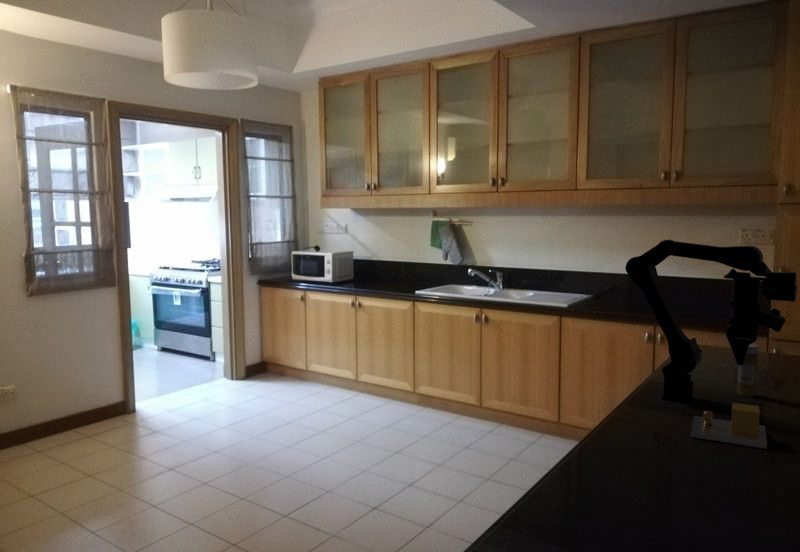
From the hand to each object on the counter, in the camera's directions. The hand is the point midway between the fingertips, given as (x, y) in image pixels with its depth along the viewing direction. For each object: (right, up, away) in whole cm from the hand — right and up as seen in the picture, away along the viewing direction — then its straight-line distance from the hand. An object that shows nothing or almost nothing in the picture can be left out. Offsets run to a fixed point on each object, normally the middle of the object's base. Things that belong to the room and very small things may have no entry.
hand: (741, 361), depth 149 cm
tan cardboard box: (-10, -12, -18) cm, 24 cm away
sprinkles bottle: (+9, -11, +13) cm, 19 cm away
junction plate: (-12, -14, -17) cm, 25 cm away
